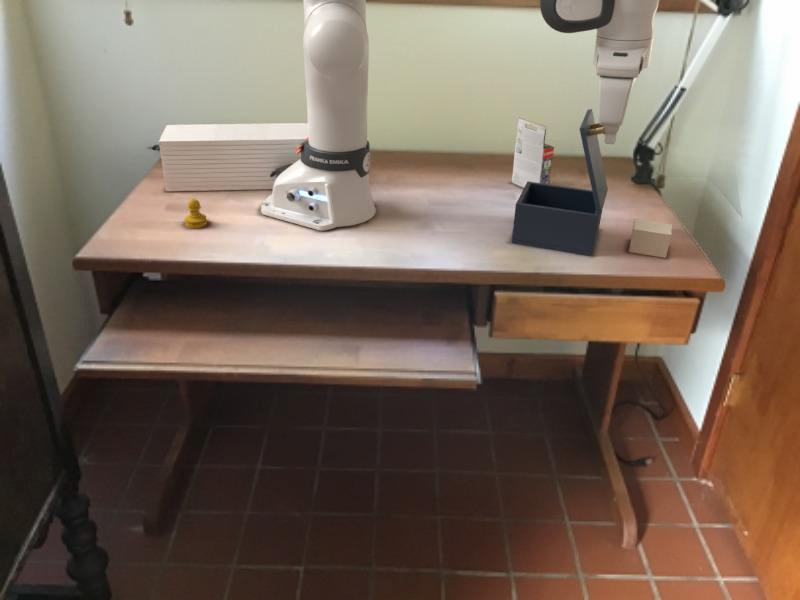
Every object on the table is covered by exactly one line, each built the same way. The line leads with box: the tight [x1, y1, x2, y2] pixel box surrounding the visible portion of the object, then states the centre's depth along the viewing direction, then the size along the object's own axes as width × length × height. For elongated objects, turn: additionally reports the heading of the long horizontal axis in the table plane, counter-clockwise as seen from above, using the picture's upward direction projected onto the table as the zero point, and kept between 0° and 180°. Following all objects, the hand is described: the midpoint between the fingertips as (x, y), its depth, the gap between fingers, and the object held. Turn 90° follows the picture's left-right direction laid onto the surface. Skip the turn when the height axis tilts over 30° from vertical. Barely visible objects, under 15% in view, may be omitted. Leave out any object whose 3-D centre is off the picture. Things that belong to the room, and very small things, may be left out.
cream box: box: [628, 218, 673, 259], centre depth 136 cm, size 6×5×5 cm
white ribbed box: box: [158, 122, 308, 192], centre depth 159 cm, size 32×11×11 cm, turn 96°
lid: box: [579, 108, 609, 214], centre depth 131 cm, size 15×12×5 cm
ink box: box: [511, 117, 555, 189], centre depth 158 cm, size 4×8×15 cm, turn 39°
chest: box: [511, 182, 603, 257], centre depth 139 cm, size 15×12×8 cm
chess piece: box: [184, 198, 208, 229], centre depth 141 cm, size 4×4×5 cm
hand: (611, 137), depth 129 cm, fingers closed on lid, 5 cm apart
